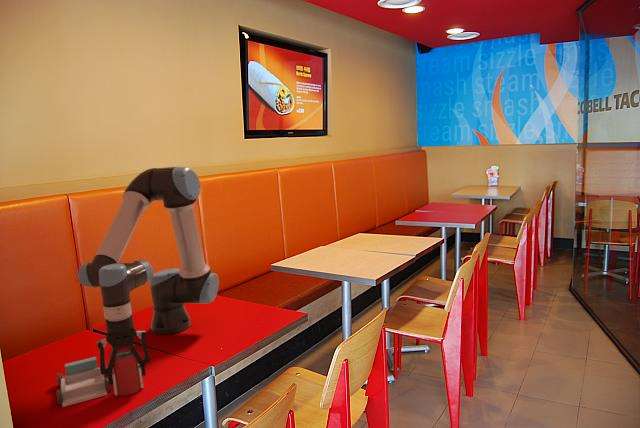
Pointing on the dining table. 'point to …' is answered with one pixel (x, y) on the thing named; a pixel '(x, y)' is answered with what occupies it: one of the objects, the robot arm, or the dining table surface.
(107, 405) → the dining table surface
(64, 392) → the chassis
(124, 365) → the beer can
